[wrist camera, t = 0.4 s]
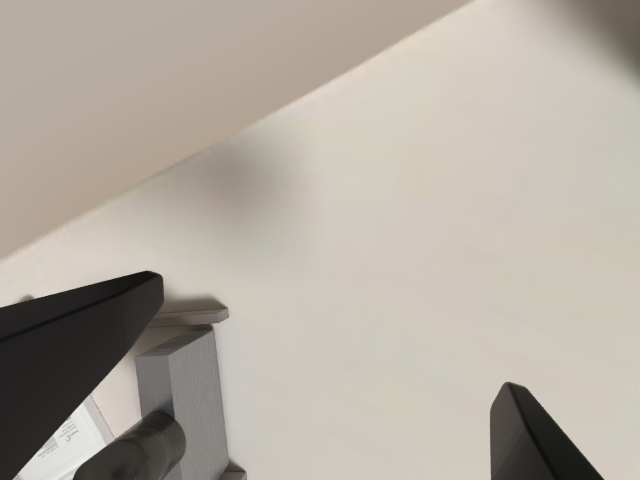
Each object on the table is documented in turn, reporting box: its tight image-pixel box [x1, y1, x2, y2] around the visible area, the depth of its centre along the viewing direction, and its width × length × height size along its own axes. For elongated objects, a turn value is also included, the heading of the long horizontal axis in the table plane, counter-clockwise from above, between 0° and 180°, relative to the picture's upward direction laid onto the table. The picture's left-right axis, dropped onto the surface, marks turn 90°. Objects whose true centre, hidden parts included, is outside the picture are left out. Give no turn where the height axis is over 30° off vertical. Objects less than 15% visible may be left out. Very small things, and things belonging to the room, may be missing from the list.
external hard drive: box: [18, 395, 115, 480], centre depth 27 cm, size 2×8×12 cm
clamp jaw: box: [73, 330, 229, 480], centre depth 20 cm, size 9×3×9 cm, turn 7°
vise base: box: [146, 308, 247, 480], centre depth 25 cm, size 12×26×3 cm, turn 97°
